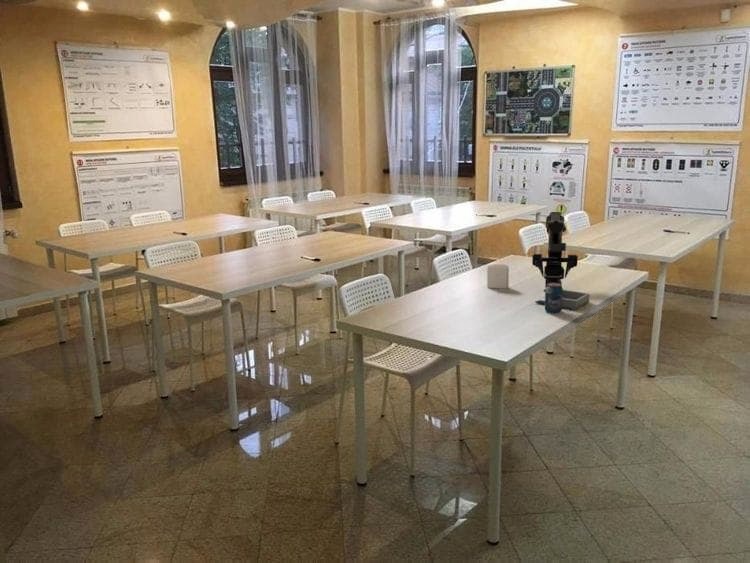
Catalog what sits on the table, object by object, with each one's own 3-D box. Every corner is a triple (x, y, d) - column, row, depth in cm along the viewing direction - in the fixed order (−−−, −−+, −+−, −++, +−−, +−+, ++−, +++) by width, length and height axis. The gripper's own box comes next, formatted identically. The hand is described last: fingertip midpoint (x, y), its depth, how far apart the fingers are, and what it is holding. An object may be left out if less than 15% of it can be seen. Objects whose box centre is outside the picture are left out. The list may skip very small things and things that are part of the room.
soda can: (549, 314, 262) (550, 286, 259) (541, 310, 269) (542, 282, 266) (564, 313, 263) (565, 285, 260) (556, 308, 270) (558, 281, 267)
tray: (544, 305, 276) (545, 296, 275) (558, 297, 286) (559, 289, 285) (575, 310, 267) (576, 301, 266) (589, 302, 277) (589, 293, 276)
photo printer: (486, 288, 305) (486, 263, 302) (487, 286, 309) (488, 261, 306) (507, 289, 302) (508, 264, 299) (509, 287, 306) (509, 262, 303)
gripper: (533, 235, 273) (531, 266, 265) (578, 236, 268) (578, 267, 261) (533, 249, 282) (531, 279, 275) (576, 250, 277) (576, 281, 270)
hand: (554, 276), depth 270 cm, fingers open, 9 cm apart
